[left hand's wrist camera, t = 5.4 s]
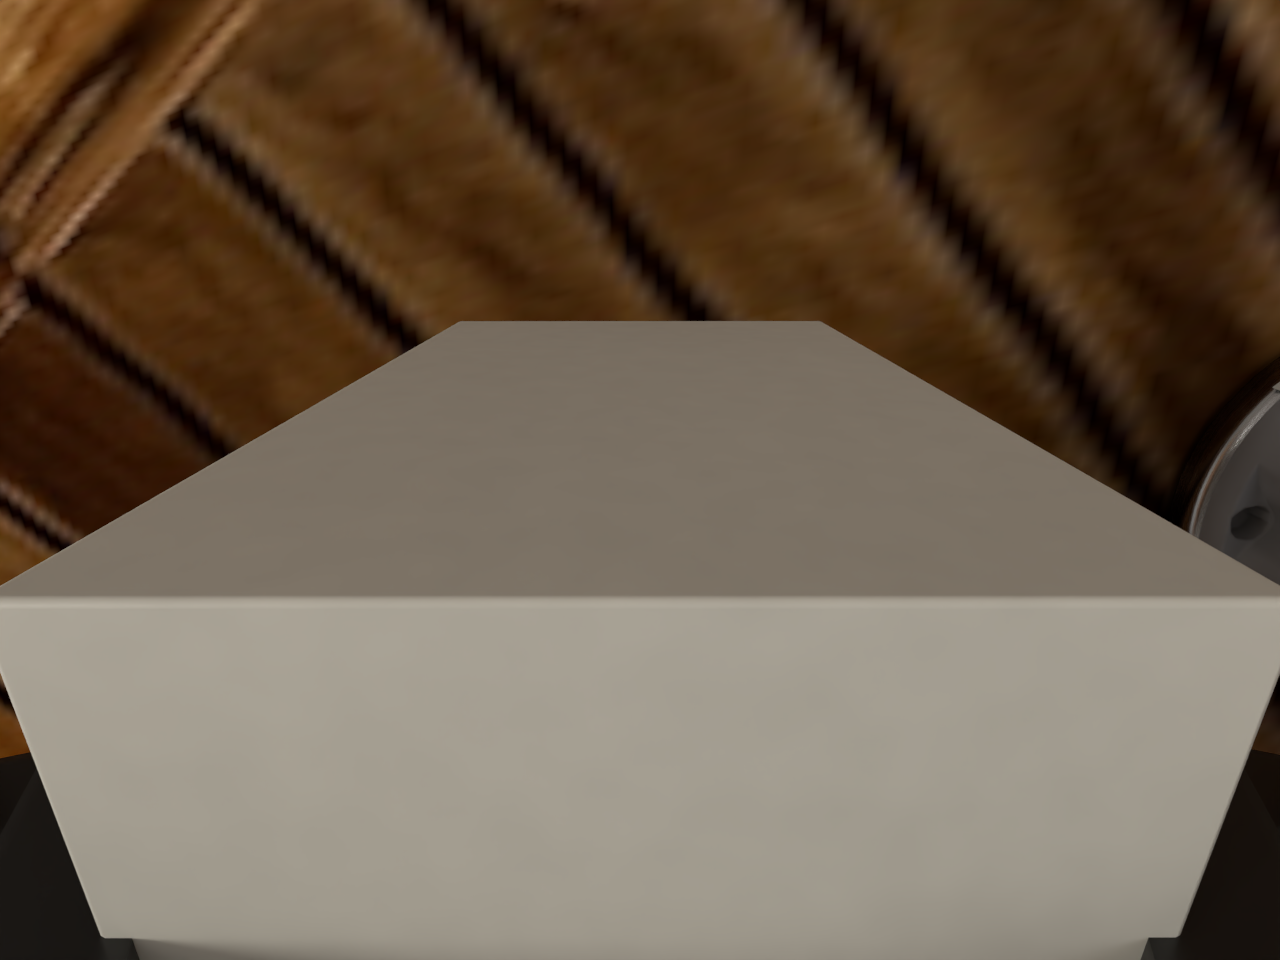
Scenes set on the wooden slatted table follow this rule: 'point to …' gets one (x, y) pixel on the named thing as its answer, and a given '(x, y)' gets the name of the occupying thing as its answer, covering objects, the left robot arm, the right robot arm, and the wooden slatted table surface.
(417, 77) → the wooden slatted table surface
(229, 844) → the box
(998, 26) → the wooden slatted table surface
